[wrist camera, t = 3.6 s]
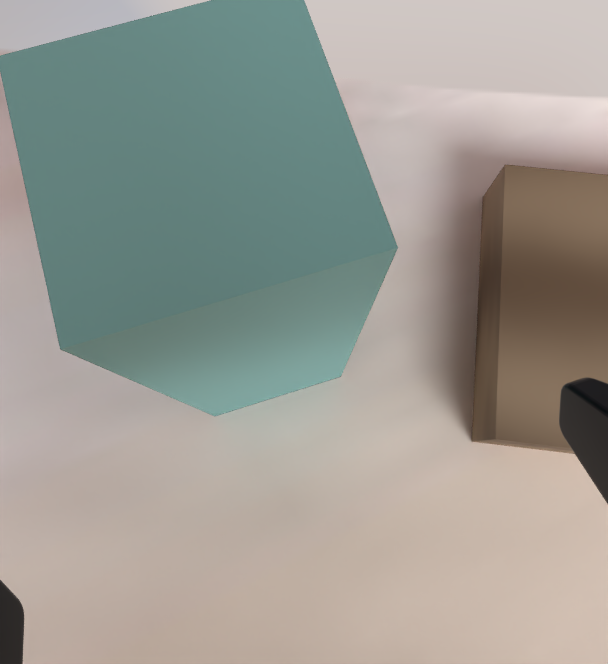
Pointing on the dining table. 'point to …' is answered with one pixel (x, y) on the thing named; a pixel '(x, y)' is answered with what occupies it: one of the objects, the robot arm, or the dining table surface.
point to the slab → (539, 302)
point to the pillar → (200, 201)
